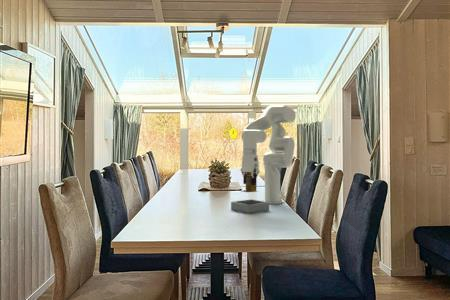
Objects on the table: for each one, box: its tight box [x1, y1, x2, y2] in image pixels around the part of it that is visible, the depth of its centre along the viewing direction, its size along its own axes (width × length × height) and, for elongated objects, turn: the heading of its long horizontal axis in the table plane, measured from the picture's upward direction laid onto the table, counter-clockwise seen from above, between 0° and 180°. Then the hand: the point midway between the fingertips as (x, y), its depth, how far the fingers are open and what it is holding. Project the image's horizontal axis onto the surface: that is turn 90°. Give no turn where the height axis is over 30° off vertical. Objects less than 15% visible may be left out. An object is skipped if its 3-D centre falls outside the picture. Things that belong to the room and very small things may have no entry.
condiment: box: [241, 172, 260, 193], centre depth 226 cm, size 7×8×12 cm
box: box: [230, 199, 270, 214], centre depth 226 cm, size 15×15×4 cm
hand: (249, 184), depth 225 cm, fingers closed on condiment, 6 cm apart
